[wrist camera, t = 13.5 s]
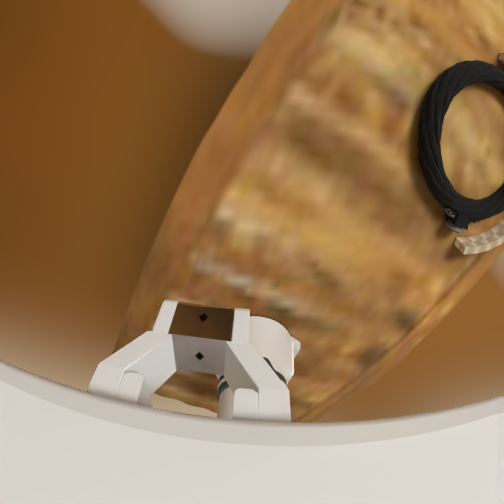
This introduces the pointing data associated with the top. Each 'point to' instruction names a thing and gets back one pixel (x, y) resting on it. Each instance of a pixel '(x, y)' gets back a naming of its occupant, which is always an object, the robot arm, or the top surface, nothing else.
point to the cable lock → (430, 151)
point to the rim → (487, 238)
